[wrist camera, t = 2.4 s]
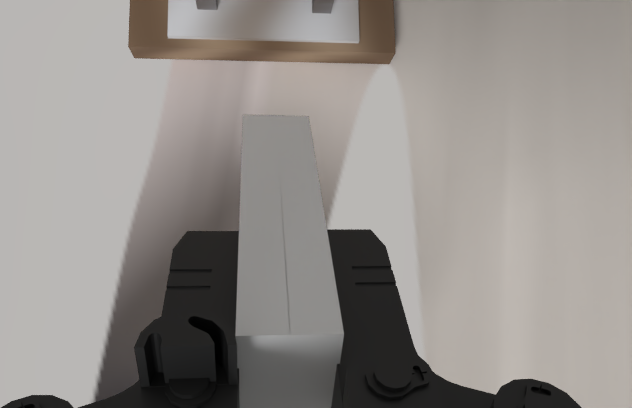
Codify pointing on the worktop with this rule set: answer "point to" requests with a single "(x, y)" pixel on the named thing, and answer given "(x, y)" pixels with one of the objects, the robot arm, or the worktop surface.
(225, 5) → the switch panel
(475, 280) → the worktop surface
